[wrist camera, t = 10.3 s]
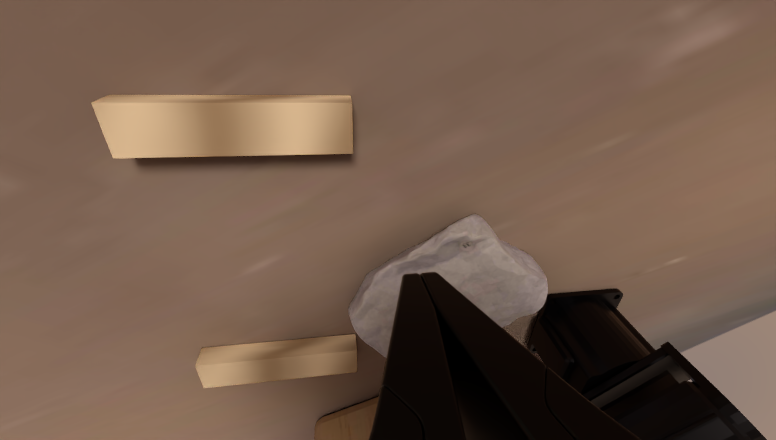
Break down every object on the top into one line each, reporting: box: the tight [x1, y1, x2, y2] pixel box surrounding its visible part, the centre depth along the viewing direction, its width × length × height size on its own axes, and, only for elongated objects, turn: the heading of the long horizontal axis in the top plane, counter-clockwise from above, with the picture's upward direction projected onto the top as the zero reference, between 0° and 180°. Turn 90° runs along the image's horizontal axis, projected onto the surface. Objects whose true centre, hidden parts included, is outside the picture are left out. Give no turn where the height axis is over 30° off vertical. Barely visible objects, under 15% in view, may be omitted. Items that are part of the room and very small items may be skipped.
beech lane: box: [91, 95, 357, 388], centre depth 21 cm, size 11×20×2 cm, turn 178°
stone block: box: [348, 214, 548, 358], centre depth 24 cm, size 12×5×10 cm
